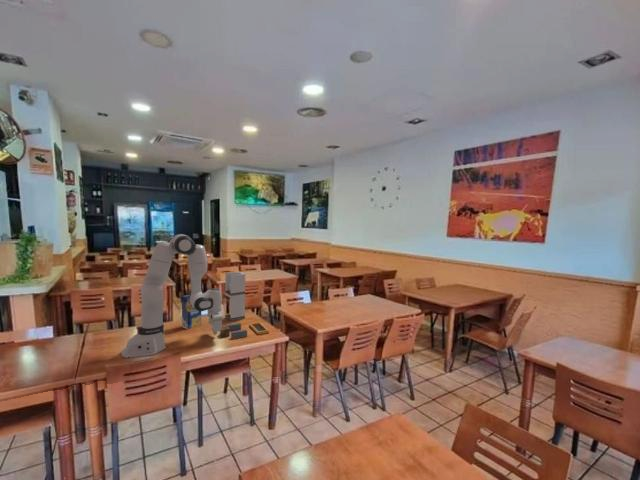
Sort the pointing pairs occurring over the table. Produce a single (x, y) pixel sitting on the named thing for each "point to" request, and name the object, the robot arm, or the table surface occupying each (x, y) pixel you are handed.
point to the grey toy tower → (235, 295)
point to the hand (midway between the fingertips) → (214, 333)
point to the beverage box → (189, 314)
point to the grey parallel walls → (237, 333)
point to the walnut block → (225, 331)
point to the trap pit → (258, 328)
